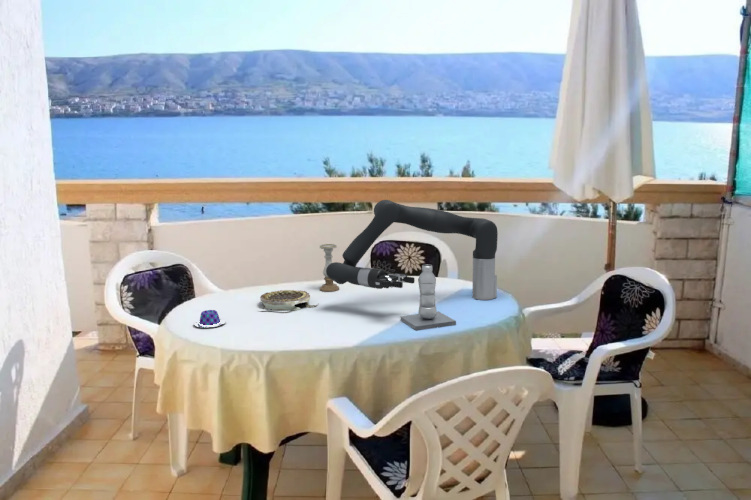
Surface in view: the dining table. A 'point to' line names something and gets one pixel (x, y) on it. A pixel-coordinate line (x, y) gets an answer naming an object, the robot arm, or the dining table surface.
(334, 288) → the candle holder
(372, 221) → the robot arm
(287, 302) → the pie
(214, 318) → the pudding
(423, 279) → the plastic bottle
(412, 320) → the slate tile
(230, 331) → the dining table surface
